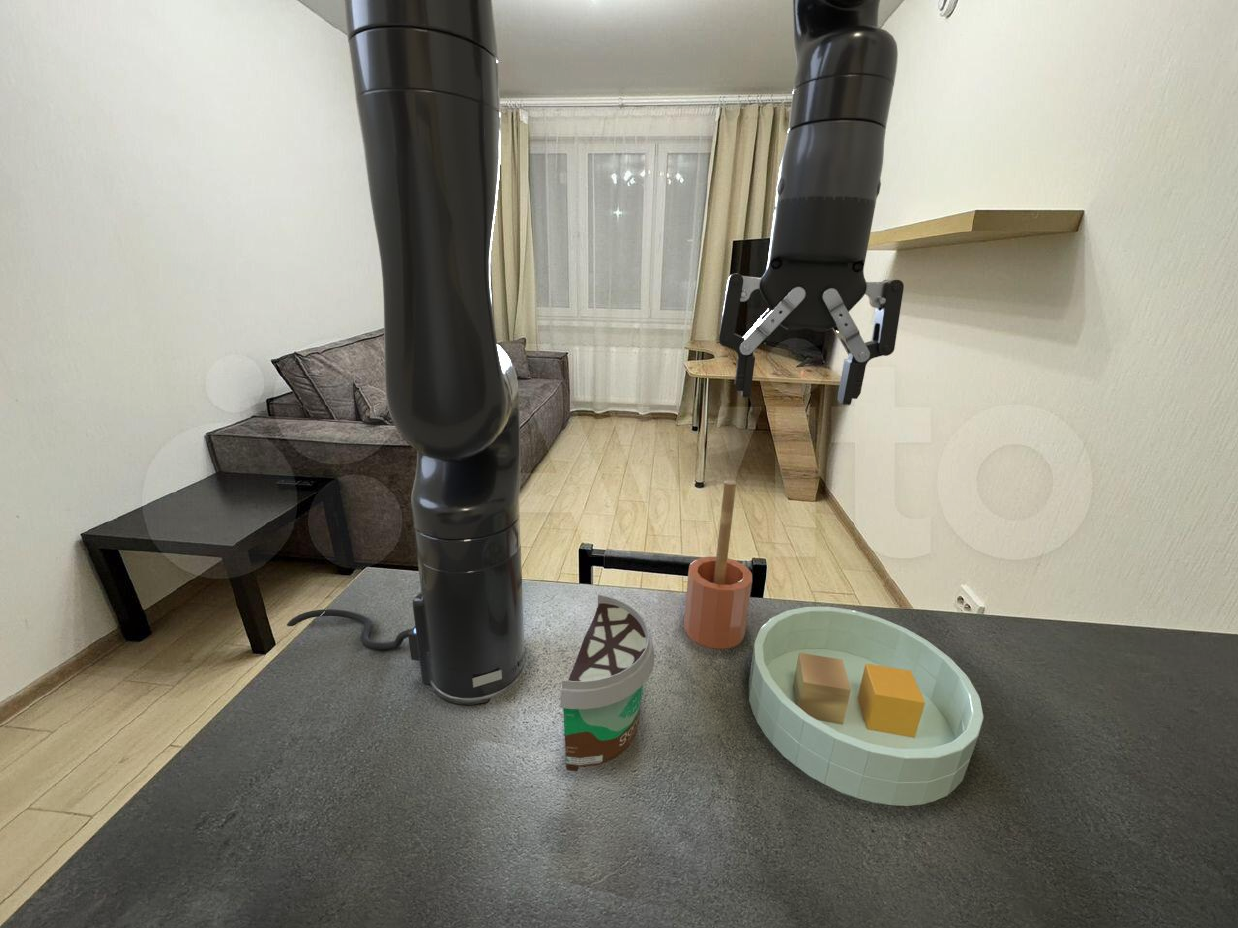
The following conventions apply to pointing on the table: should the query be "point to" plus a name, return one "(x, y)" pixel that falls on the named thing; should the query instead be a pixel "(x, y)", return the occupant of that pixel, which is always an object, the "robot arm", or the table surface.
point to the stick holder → (717, 604)
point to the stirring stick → (724, 531)
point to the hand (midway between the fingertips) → (793, 399)
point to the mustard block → (890, 700)
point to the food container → (606, 685)
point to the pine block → (821, 687)
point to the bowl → (851, 750)
